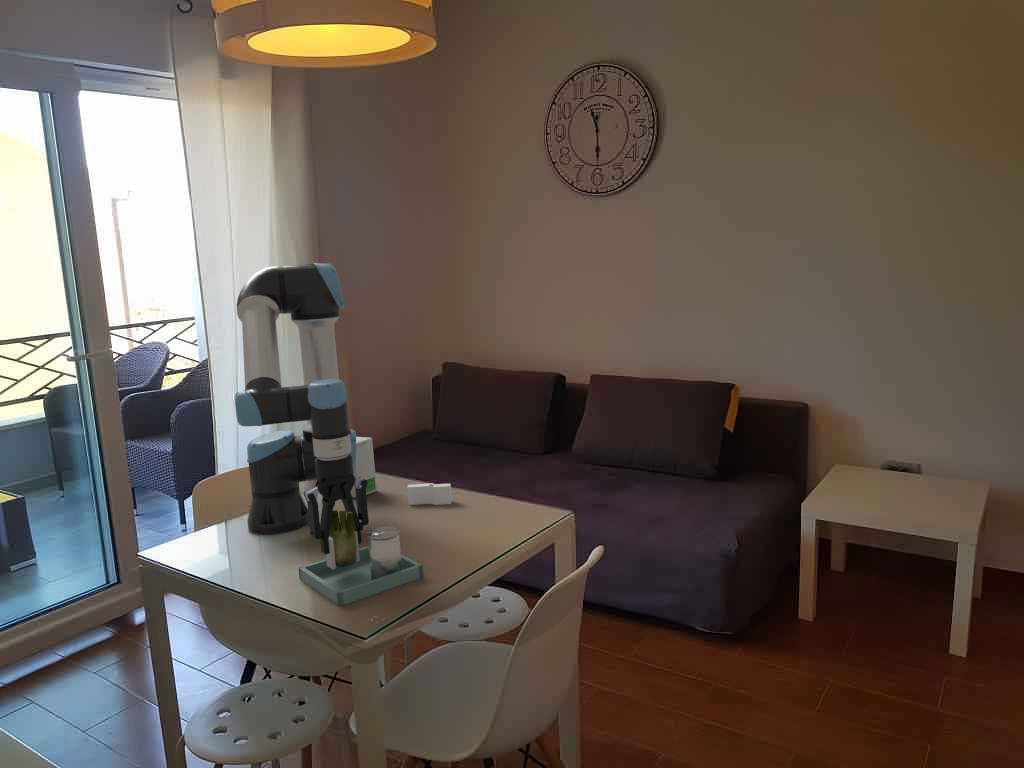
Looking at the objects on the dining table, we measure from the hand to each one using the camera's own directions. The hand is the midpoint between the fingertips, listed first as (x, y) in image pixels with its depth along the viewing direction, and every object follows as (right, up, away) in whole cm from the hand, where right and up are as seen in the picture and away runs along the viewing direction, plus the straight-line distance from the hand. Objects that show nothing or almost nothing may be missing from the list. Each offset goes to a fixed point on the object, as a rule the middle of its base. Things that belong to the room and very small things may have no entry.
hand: (343, 563), depth 171 cm
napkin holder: (+14, +5, +47) cm, 49 cm away
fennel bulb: (0, -1, 0) cm, 1 cm away
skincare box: (-8, +6, +59) cm, 60 cm away
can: (+10, -3, -4) cm, 11 cm away
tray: (+4, -4, -2) cm, 6 cm away
